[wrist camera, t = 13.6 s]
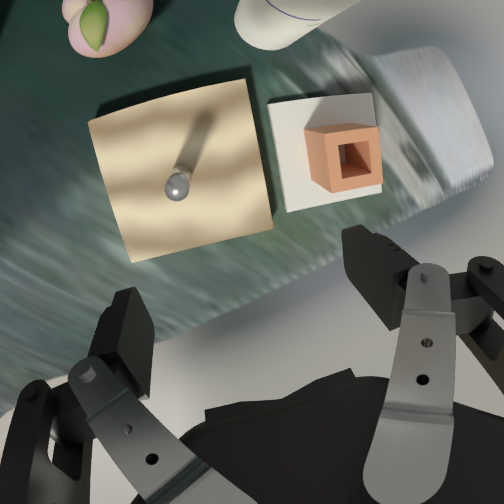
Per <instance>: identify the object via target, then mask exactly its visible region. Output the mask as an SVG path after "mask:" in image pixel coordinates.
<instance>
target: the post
mask: <svg viewBox="0 0 504 504" xmlns="http://www.w3.org/2000/svg"><path fill="white" fill-rule="evenodd" d="M191 175H192V173H191V169H190V168H189V167H188V166H187V165H184V164H179V165H177V166H175V167H174V168H173V170H172V172H171V174H170V176H169V178H168V180H167V182H166V184H165V188H164V191H165V194H166V196H167V197H168V198H169V199H170V200H172V201H182V200H183V199H185V198H186V197H187V195H188V193H189V188H190V181H191Z"/></svg>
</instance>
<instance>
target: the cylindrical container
mask: <svg viewBox="0 0 504 504" xmlns="http://www.w3.org/2000/svg"><path fill="white" fill-rule="evenodd" d="M359 1H361V0H240V1H239V4H238V7H237V9H236V12H235V18H234V21H235V27H236V29H237V32H238V33H239V35H240V36H241V37H242V38H243V39H244V40H245V41H246V42H247V43H249V44H250V45H252V46H254V47H256V48H259V49H263V50H278V49H282V48H285V47H287V46H289V45H290V44H292V43H293V42H295V41H296V40H298V39H299V38H301V37H302V36H304V35H305V34H307V33H308V32H310V31H311V30H313V29H314V28H316V27H317V26H319V25H321V24H322V23H324V22H325V21H327V20H329V19H330V18H332V17H334V16H335V15H337V14H339V13H340V12H342V11H344V10H345V9H347V8H349V7H351V6H352V5H354V4H356V3H358V2H359Z"/></svg>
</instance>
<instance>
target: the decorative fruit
mask: <svg viewBox="0 0 504 504" xmlns="http://www.w3.org/2000/svg"><path fill="white" fill-rule="evenodd" d="M152 11H153V0H63V4H62V12H63V16H64V18H65V20H66V21H67V22H68V23H70V25H69V30H68V35H69V40H70V44H71V45H72V47H73V48H74V49H75V50H76V51H77V52H78V53H80V54H82V55H84V56H87V57H93V58H101V57H106V56H110V55H113V54H115V53H117V52H119V51H121V50H123V49H124V48H126V47H127V46H128V45H130V44H131V43H132V42H133V41H134V40H135V39H136V38H137V37H138V36H139V35H140V34H141V33H142V32H143V30H144V29H145V27H146V26H147V24H148V23H149V21H150V18H151V15H152Z"/></svg>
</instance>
